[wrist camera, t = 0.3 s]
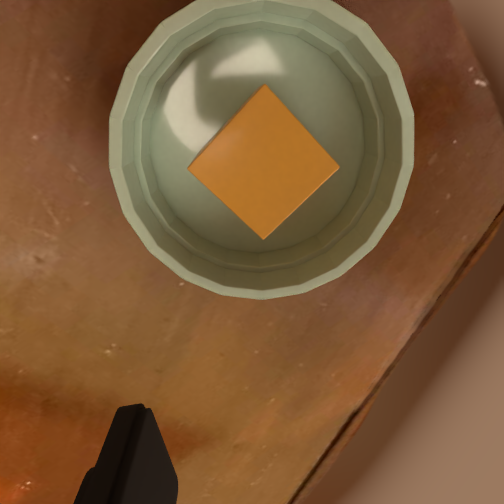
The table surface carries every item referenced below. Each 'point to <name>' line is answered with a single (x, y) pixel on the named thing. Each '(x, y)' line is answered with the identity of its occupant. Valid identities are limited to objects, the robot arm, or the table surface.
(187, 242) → the celadon bowl
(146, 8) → the table surface
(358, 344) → the table surface
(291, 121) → the cube
